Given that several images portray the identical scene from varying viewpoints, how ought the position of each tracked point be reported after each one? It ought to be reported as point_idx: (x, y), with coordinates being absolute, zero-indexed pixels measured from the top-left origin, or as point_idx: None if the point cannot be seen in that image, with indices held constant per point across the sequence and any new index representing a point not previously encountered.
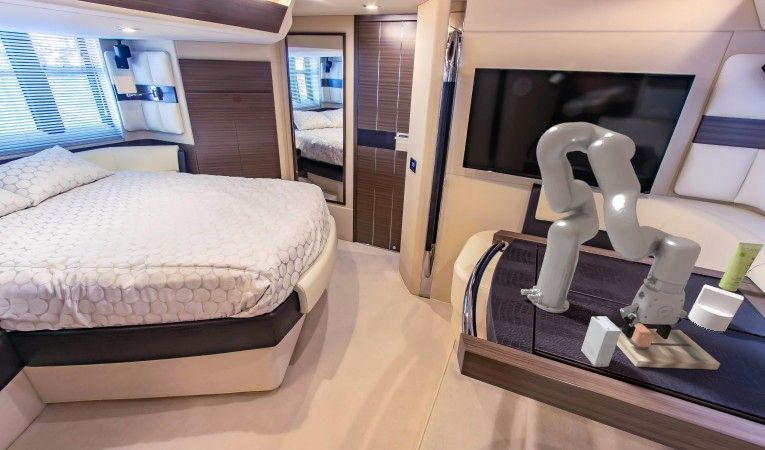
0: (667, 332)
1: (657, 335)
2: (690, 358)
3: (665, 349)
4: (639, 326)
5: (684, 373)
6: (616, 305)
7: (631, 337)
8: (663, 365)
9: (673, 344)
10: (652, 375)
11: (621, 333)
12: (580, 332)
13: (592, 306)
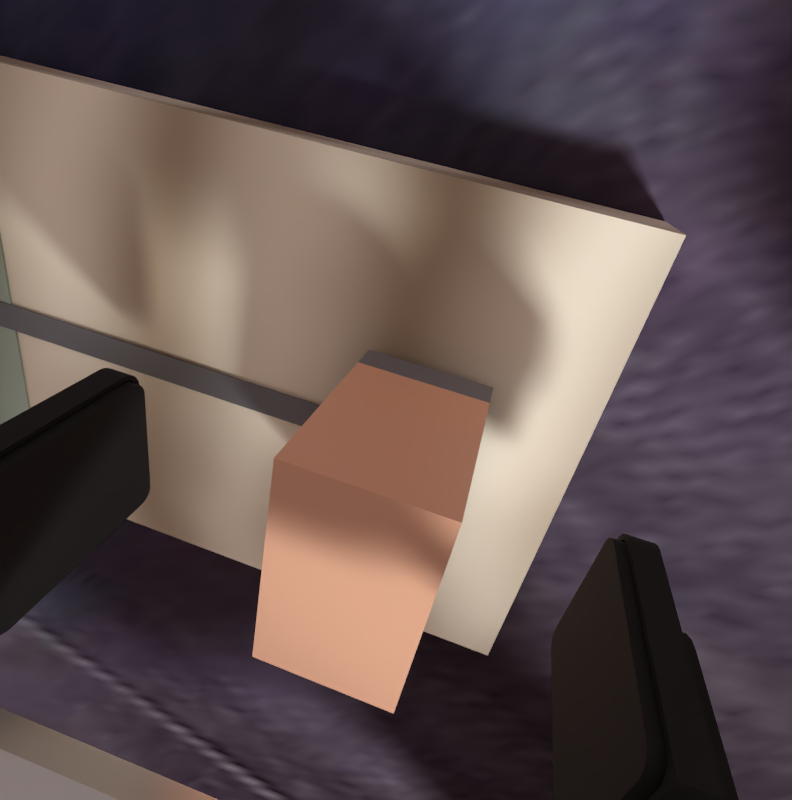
0: (33, 443)
1: None
2: (13, 138)
3: (174, 305)
4: (332, 641)
5: (197, 22)
6: (175, 697)
7: (630, 549)
8: (351, 146)
9: (55, 333)
10: (606, 52)
11: None
12: (737, 683)
13: (342, 755)
